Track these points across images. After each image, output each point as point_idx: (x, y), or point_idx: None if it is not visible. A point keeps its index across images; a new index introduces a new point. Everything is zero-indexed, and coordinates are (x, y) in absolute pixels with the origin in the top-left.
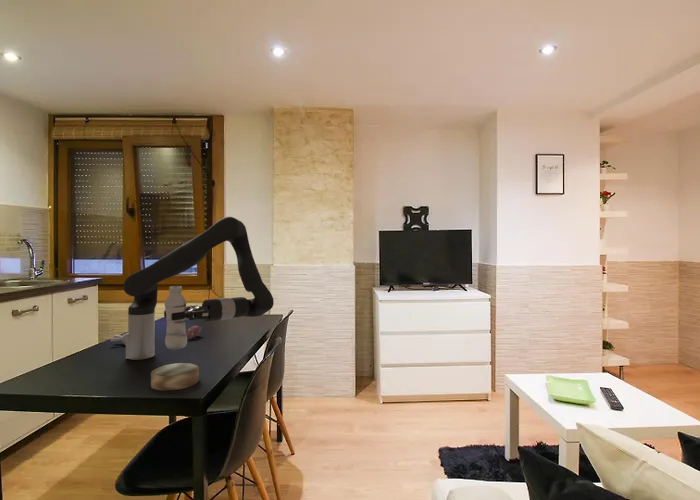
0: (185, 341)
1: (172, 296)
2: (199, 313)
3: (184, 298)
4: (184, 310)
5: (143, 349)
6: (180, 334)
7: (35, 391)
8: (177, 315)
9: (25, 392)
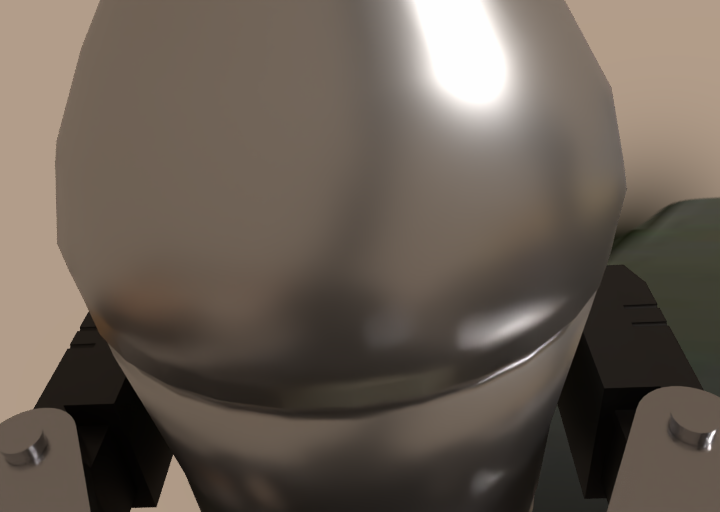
0: None
1: None
2: None
3: (143, 152)
4: (163, 430)
5: None
6: None
7: (666, 247)
8: (88, 332)
9: (668, 230)
